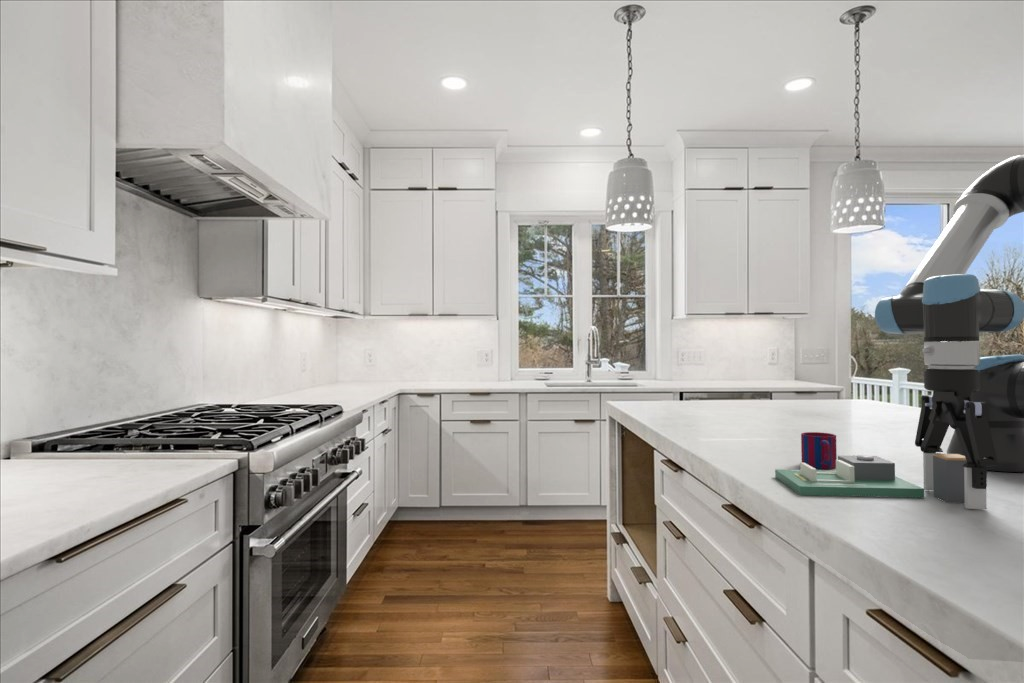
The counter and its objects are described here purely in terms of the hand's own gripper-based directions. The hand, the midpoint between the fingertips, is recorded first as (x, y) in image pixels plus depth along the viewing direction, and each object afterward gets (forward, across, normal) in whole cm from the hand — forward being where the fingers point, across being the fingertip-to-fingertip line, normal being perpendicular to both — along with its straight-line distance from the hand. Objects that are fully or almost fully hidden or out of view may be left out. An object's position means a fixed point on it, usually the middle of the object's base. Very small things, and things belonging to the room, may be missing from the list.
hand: (953, 498), depth 98 cm
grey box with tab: (-1, -11, -9) cm, 14 cm away
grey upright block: (0, 0, 0) cm, 0 cm away
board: (0, -8, -14) cm, 16 cm away
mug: (0, -25, -12) cm, 28 cm away
